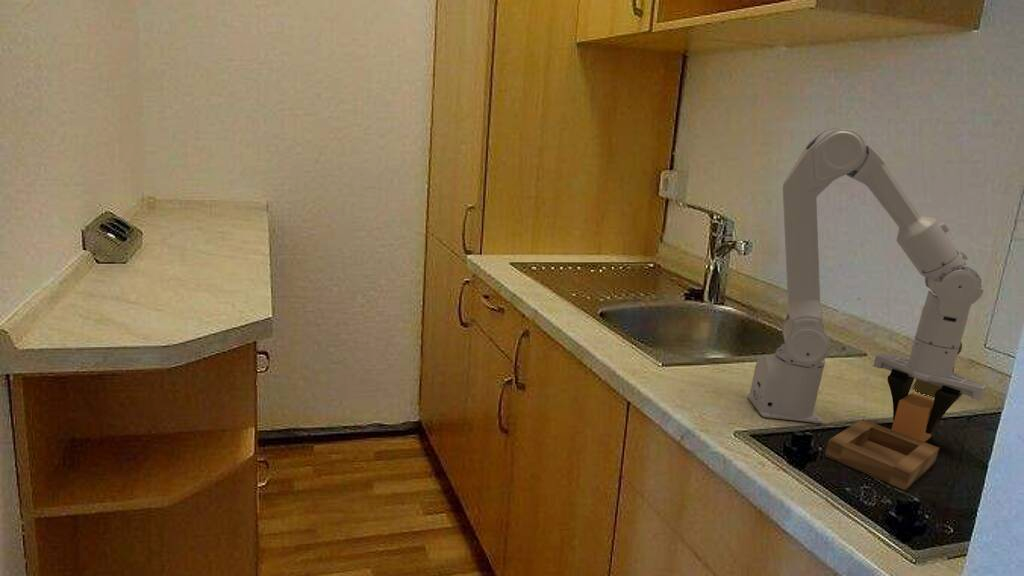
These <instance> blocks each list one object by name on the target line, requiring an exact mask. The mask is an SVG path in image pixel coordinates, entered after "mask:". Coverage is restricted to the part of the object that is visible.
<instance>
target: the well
mask: <svg viewBox="0 0 1024 576" xmlns="http://www.w3.org/2000/svg"><path fill="white" fill-rule="evenodd" d="M891 429H892V428H888V427H886V426H883V425H880V424H877V423H876V422H872V421H870V420H867V419H864V418H862V419H860V420H859V421H856V422H855V423H854V424H852V425H850V426H849V427H847V428H846V429H844V430H842V431H841V432H839V433H837V434H836V435H834V436H833V437H831V438H829V439H828V442H827V446H826V449H825V454H824V457H826V458H828V459H830V460H832V461H835V462H837V463H840V464H842V465H844V466H847V467H849V468H852V469H854V470H856V471H858V472H861V473H863V474H866V475H868V476H870V477H873V478H875V479H877V480H879V481H882V482H884V483H887V484H888V485H891V486H892V487H895V488H898V489H901V490H903V491H907V490H908V489H909V488H910V487H911V486H912V485H913V484H914V483H916V481H918V480H919V479H920V478H921V477H922V476H923V475H924V474H925V473H926V472H927V471H928V470H930V469H931V467H933V466H934V465H935V464H936V460H937V457H938V455H939V451H940V447H939V446H935V445H933V444H931V443H928V442H927V441H926V442H923V441H920V440H918V439H915V438H912V437H910V436H907V435H904V434H902V433H899V432H896V431H894V430H891Z"/></svg>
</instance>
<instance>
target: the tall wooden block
mask: <svg viewBox="0 0 1024 576" xmlns="http://www.w3.org/2000/svg"><path fill="white" fill-rule="evenodd" d="M933 404H934V398H932V397H928V396H925V395H922V394H920V393H917V392H909V394H908V395H907V396H906V397H904V398H903V399H901V400H899V404H898V407H897V411H896V415H895V418H894V421H893V423H892V426H891V428H890V429H891V430H894V431H896V432H899V433H902V434H904V435H907V436H910V437H912V438H915V439H918V440H920V441H923V442H926V443H927V441H929V439H930V438H931V437H932V434H928V433H926V428H927V424H928V422H929V419H930V416H931V413H932V409H933Z"/></svg>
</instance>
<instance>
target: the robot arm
mask: <svg viewBox="0 0 1024 576" xmlns="http://www.w3.org/2000/svg"><path fill="white" fill-rule="evenodd" d="M844 176H847V177H849V178H851V179H853V180H856V181H858V182H859V183H861V184H864V185H865V186H866V187H867V189H869V190H870V192H871V194H872V195H873V196H874V198H876V200H877V201H878V202H879V204H880V205H881V207H883V209H884V210H885V211H886V212H887V214H888V215H889V216H890V218H891V219H892V220H893V222H894V223H895V224H896V225H897V227H898V232H897V235H896V242H897V244H898V245H899V246H900V248H901V249H902V251H903V253H904V254H906V257H907V258H908V259H909V260H910V262H911V263H912V264H913V266H914V267H915V269H916V270H917V271H918V273H919V275H921V276H922V277H924V284H925V286H926V287H927V288H928V289H929V291H927V295H926V299H925V301H924V302H925V303H924V306H923V308H922V311H921V314H920V318H919V322H918V324H917V325H918V326H917V328H916V333H915V337H914V339H913V343H912V348H911V351H910V354H909V357H908V358H903V357H898V356H894V355H889V354H888V353H887V354H886V353H882V352H880V353H877V354H875V358H874V361H873V365H872V366H873V367H874V368H878V369H884V370H888V371H891V372H890V373H889V375H888V376H887V384H888V387H889V390H890V393H891V398H892V400H891V401H892V409H893V410H892V414H893V415H892V421H893V422H894V418H895V415H896V411H897V407H898V404H899V400H901V399H903V398H904V397H906V396H907V395H909V394H910V391H911V388H912V387H913V383H914V382H915V380H916V379H918V380H921V381H924V382H928V383H931V384H934V385H937V386H940V387H942V388H941V389H939V390H937V391H936V393H935V398H933V399H934V404H933V409H932V413H931V416H930V419H929V422H928V424H927V428H926V433H928V434H931V435H932V434H933V433H934V432H935V430H936V428H937V426H938V425H939V423H940V422H941V420H942V418H943V417H944V415H945V414H946V413H947V411H949V409H950V408H951V406H953V404H954V403H955V402H956V401H957V400H958V399H959V398H960V397H962V396H963V395H964V396H968V397H970V399H973V400H976V401H981V400H982V399H983V398H984V395H985V392H986V390H987V389H986V388H987V385H985V384H982V383H980V382H977V381H976V380H975V381H974V380H972V379H969V378H967V377H964V376H963V375H959V374H957V373H956V372H955V373H952V370H953V367H954V368H955V365H954V363H955V362H956V359H957V357H958V355H957V353H958V350H959V347H960V343H961V342H962V339H963V336H964V332H965V329H966V325H967V322H968V319H969V313H970V310H971V306H972V305H973V304H975V303H976V302H977V301H979V300H980V299H981V297H982V295H983V293H984V291H985V290H984V289H983V288H982V287H983V286H982V278H981V276H980V274H979V273H978V272H977V271H976V270H974V269H973V268H971V267H970V266H969V265H967V263H966V261H967V260H968V259H969V257H968V255H967V253H965V252H964V251H959V249H958V248H957V246H956V245H955V244H954V242H953V241H952V240H951V238H950V237H949V235H948V232H950V229H949V227H948V225H947V224H946V223H945V222H943V221H942V222H940V223H939V221H938V220H937V219H936V218H935V217H928V216H922V215H921V214H920V213H919V211H918V210H917V208H916V207H915V205H914V204H913V201H911V199H910V198H909V196H908V195H907V193H906V192H905V190H904V189H903V187H902V186H901V185H900V183H899V182H898V180H897V178H896V177H895V175H894V173H893V172H892V171H891V169H890V168H889V166H888V165H887V164H886V162H885V161H884V159H882V158H881V156H880V155H879V154H878V153H877V152H876V151H875V150H874V149H873V148H872V147H871V145H866V143H865V140H864V138H863V136H861V134H859V132H857V131H855V130H854V129H850V128H841V127H840V128H839V127H838V128H836V127H835V128H834V127H833V128H828V129H826V130H825V129H824V130H823V131H822V132H821V133H819V134H817V135H816V137H814V138H813V139H811V140H810V141H809V142H808V143H807V144H806V145H805V146H804V148H803V151H802V152H801V154H800V155H799V157H798V158H797V160H796V162H795V163H794V165H793V167H792V168H791V170H790V172H789V173H788V175H787V177H786V178H785V180H784V181H783V185H782V199H783V200H782V202H783V224H784V225H783V226H784V245H785V267H786V291H787V294H786V295H787V302H786V303H787V304H786V311H787V312H786V316H785V318H784V321H783V323H782V326H781V335H782V337H783V340H784V343H782V344H781V345H780V346H779V347H777V349H776V350H775V353H773V354H762V355H760V356H759V357H758V358H757V360H756V363H755V367H754V372H753V377H752V381H751V386H750V389H749V390H750V391H749V393H748V394H747V398H748V400H749V401H750V402H751V404H752V405H753V406H754V407H755V409H756V410H757V412H758V413H759V414H760V416H761V417H762V418H768V419H769V418H770V419H779V420H787V421H795V422H807V423H816V424H823V419H822V418H821V417H820V415H818V413H817V412H816V411H815V407H816V401H817V398H818V394H819V390H820V384H821V381H822V377H823V373H824V368H825V364H826V358H827V357H828V355H829V353H830V350H831V340H830V338H829V337H830V336H829V335H828V333H827V332H826V331H825V326H824V325H825V324H824V323H823V314H822V313H823V312H822V308H821V307H822V305H821V290H820V289H821V288H820V264H819V263H820V261H819V235H818V234H819V233H818V231H819V230H818V209H817V208H818V207H817V204H818V203H817V198H818V197H819V195H820V194H821V193H822V192H823V191H824V190H825V189H827V188H828V187H829V186H830V185H831V184H832V183H833V182H835V181H836V180H838V179H839V178H842V177H844ZM955 364H956V363H955Z"/></svg>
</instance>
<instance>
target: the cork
mask: <svg viewBox="0 0 1024 576" xmlns="http://www.w3.org/2000/svg"><path fill="white" fill-rule="evenodd" d="M962 350H963V342H962V341H961V343H960V347H959V350H958V353H957V356H958V355H960V353H961V352H962ZM955 364H956V363H954V367H953V370H952V373H954V372H955ZM913 387H914V389H915V390H917V391H918V392H920V393H922V394H925V395H929V396H932V397H935V393H936V391H937V390H939V389H941V388H942V387H940V386H937V385H934V384H931V383H928V382H924V381H921V380H918V379H915V380H914V384H913V385H912V388H913ZM914 389H913V390H914ZM915 390H914V391H915ZM918 392H917V393H918ZM920 393H919V394H920ZM922 394H921V395H922ZM925 395H924V396H925ZM932 397H931V398H932Z"/></svg>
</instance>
